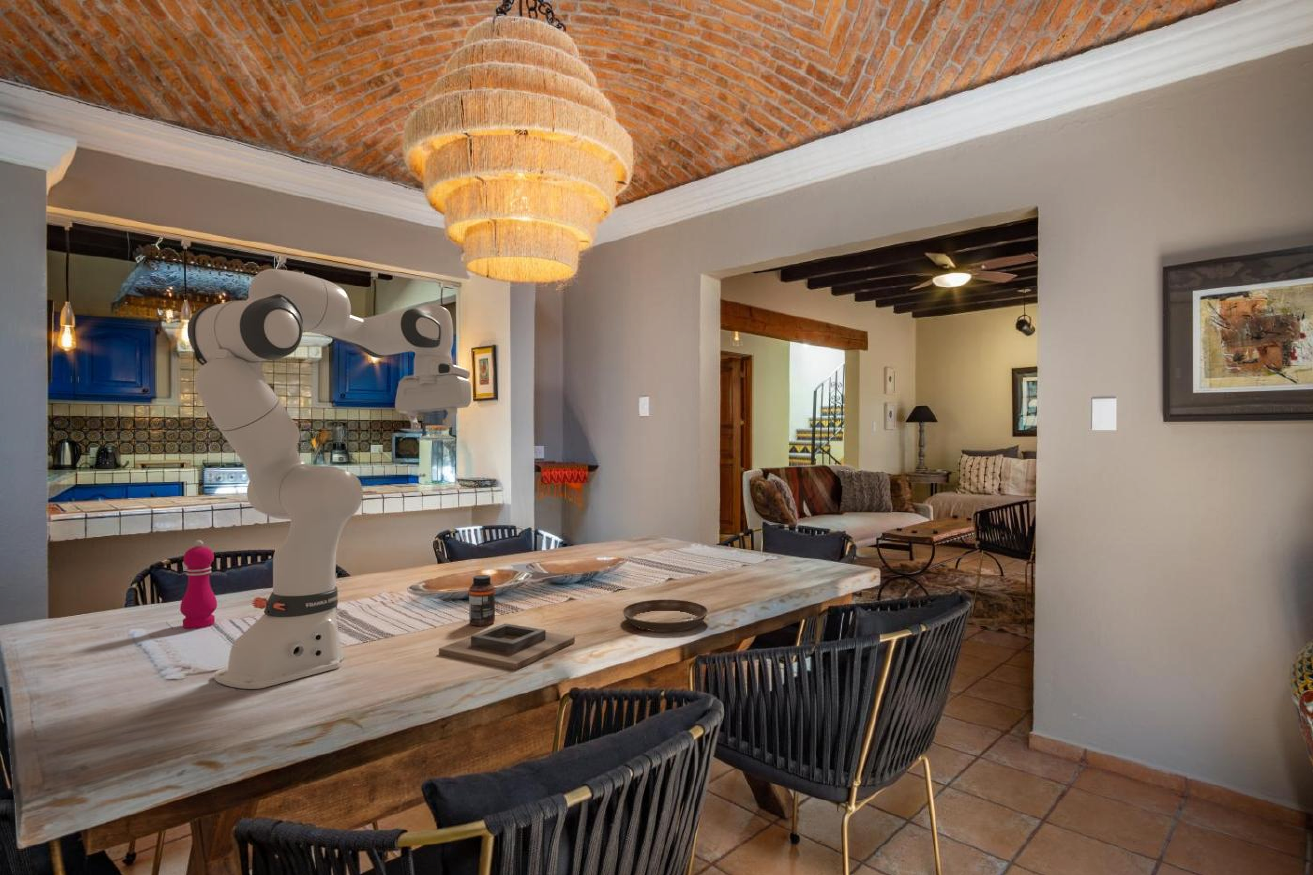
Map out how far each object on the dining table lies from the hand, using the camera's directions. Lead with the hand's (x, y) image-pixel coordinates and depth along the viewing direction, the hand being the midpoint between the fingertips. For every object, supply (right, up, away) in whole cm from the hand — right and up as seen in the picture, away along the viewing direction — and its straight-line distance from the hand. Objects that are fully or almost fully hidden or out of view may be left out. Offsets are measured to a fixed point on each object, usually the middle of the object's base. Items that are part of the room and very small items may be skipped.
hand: (431, 428), depth 166 cm
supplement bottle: (+12, -47, 0) cm, 48 cm away
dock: (+22, -47, -19) cm, 55 cm away
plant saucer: (+56, -47, +2) cm, 73 cm away
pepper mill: (-54, -46, -3) cm, 71 cm away
